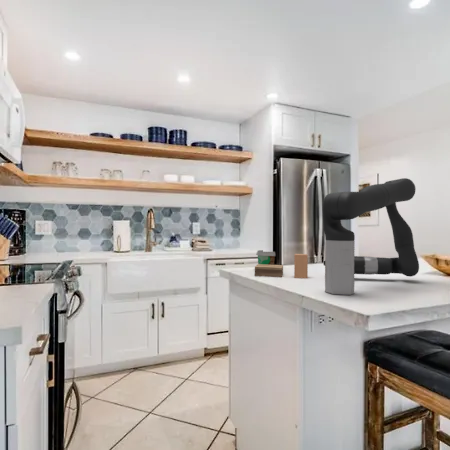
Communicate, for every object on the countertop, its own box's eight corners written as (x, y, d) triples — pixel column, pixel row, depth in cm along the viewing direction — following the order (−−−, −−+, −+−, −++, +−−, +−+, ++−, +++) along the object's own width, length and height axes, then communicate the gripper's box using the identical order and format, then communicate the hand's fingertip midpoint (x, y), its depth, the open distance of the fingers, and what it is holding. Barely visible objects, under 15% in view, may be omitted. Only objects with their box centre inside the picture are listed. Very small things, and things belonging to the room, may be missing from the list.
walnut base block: (282, 277, 145) (282, 267, 145) (254, 276, 147) (254, 267, 147) (283, 273, 156) (283, 265, 156) (257, 272, 159) (257, 264, 159)
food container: (251, 269, 170) (251, 250, 170) (262, 269, 172) (262, 250, 172) (264, 272, 158) (264, 252, 159) (275, 272, 161) (275, 251, 161)
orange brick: (307, 278, 142) (307, 255, 142) (294, 277, 143) (294, 254, 143) (307, 276, 147) (307, 254, 147) (294, 276, 148) (294, 253, 148)
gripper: (361, 255, 147) (323, 254, 150) (368, 257, 133) (325, 256, 136) (361, 272, 146) (322, 270, 150) (367, 276, 133) (325, 275, 136)
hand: (324, 264), depth 143 cm, fingers open, 8 cm apart
